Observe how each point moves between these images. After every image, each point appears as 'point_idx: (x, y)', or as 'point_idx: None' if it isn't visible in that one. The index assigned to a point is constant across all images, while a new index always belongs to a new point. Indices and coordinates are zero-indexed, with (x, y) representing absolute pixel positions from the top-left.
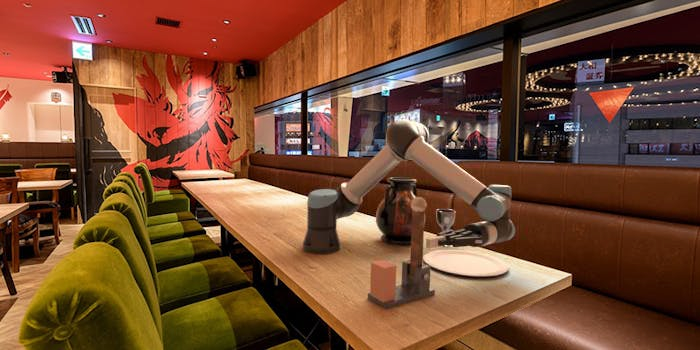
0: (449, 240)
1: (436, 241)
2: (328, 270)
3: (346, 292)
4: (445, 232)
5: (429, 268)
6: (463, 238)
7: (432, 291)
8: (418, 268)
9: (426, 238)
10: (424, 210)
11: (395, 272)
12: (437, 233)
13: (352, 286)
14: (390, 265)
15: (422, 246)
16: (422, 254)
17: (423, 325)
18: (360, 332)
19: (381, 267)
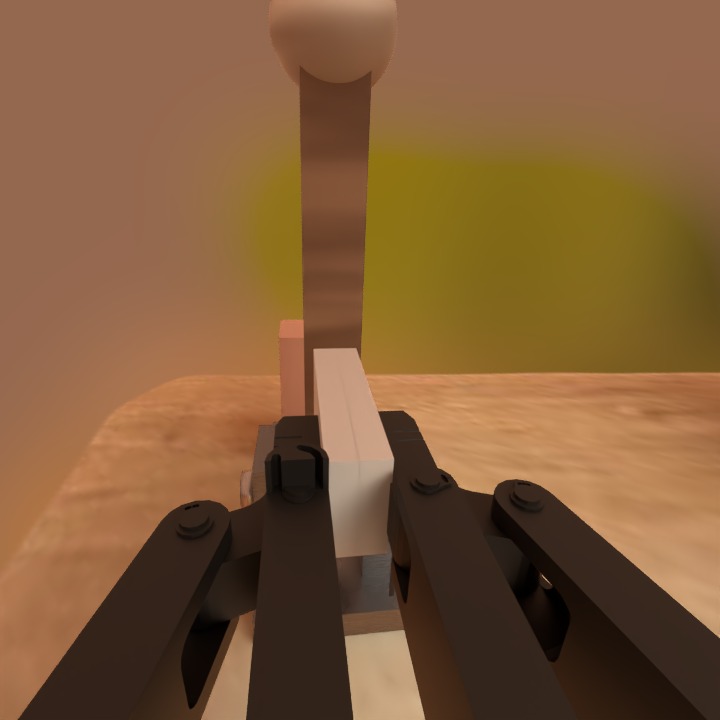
0: (258, 503)
1: (316, 410)
2: (629, 434)
3: (424, 415)
4: (688, 689)
5: (253, 475)
6: (52, 688)
7: (255, 609)
8: (271, 425)
9: (354, 348)
10: (300, 69)
11: (280, 360)
12: (556, 499)
13: (466, 437)
14: (292, 331)
15: (304, 353)
16: (305, 404)
17: (128, 462)
18: (224, 379)
19: (296, 321)
